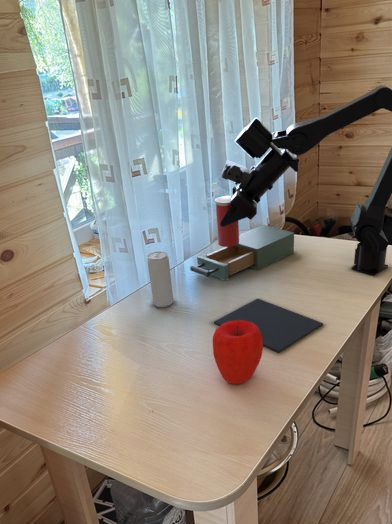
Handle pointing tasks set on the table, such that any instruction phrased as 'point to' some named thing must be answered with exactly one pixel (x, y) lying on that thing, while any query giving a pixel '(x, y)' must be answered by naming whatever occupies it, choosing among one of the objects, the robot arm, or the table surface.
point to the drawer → (224, 262)
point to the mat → (273, 323)
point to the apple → (237, 350)
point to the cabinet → (267, 244)
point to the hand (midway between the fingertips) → (222, 221)
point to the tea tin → (230, 232)
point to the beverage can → (160, 278)
